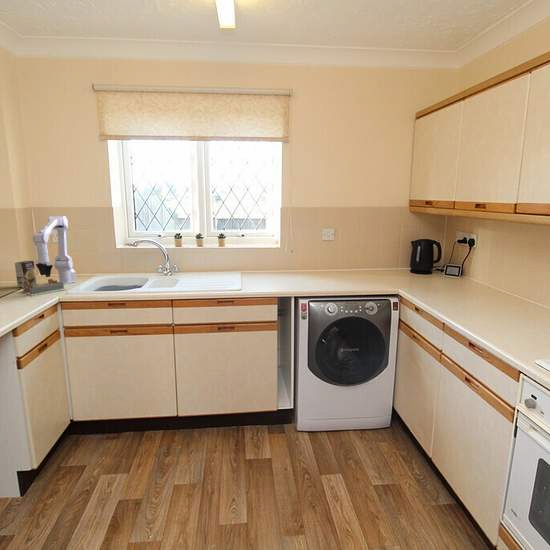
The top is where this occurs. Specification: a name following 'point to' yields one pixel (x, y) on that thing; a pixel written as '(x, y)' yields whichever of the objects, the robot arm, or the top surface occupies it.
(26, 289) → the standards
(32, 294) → the mat
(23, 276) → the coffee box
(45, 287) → the rail
